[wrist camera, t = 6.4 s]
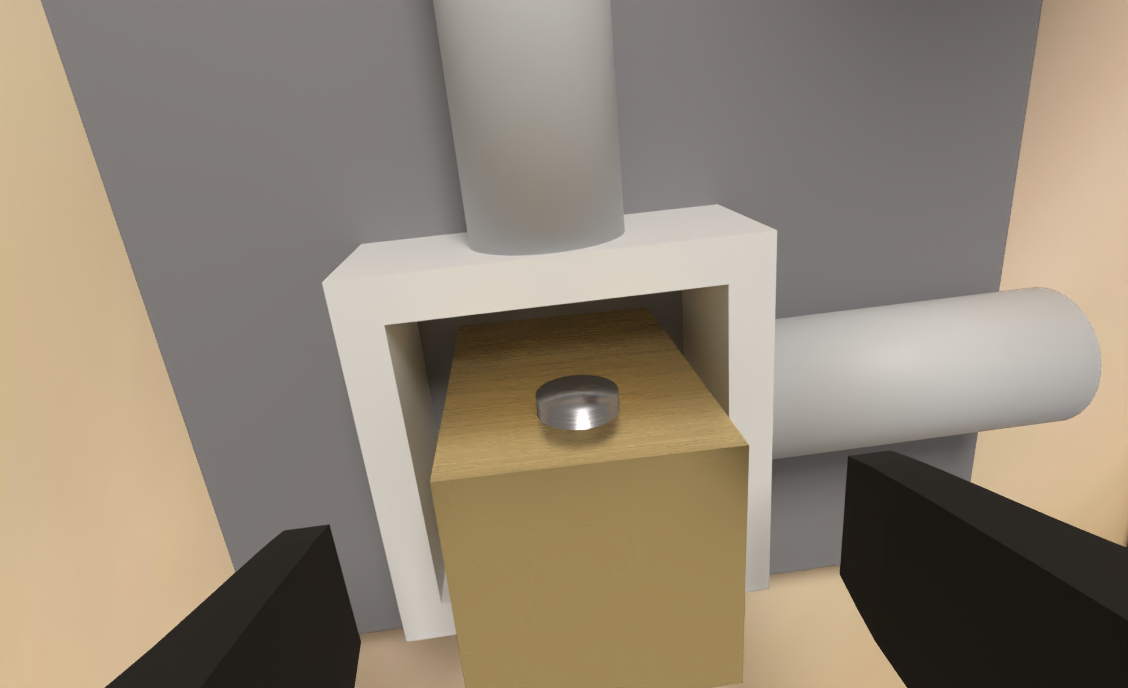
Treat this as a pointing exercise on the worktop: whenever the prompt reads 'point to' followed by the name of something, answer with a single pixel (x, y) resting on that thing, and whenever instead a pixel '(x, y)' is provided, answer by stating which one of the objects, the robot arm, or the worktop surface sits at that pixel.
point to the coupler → (590, 508)
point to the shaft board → (382, 159)
